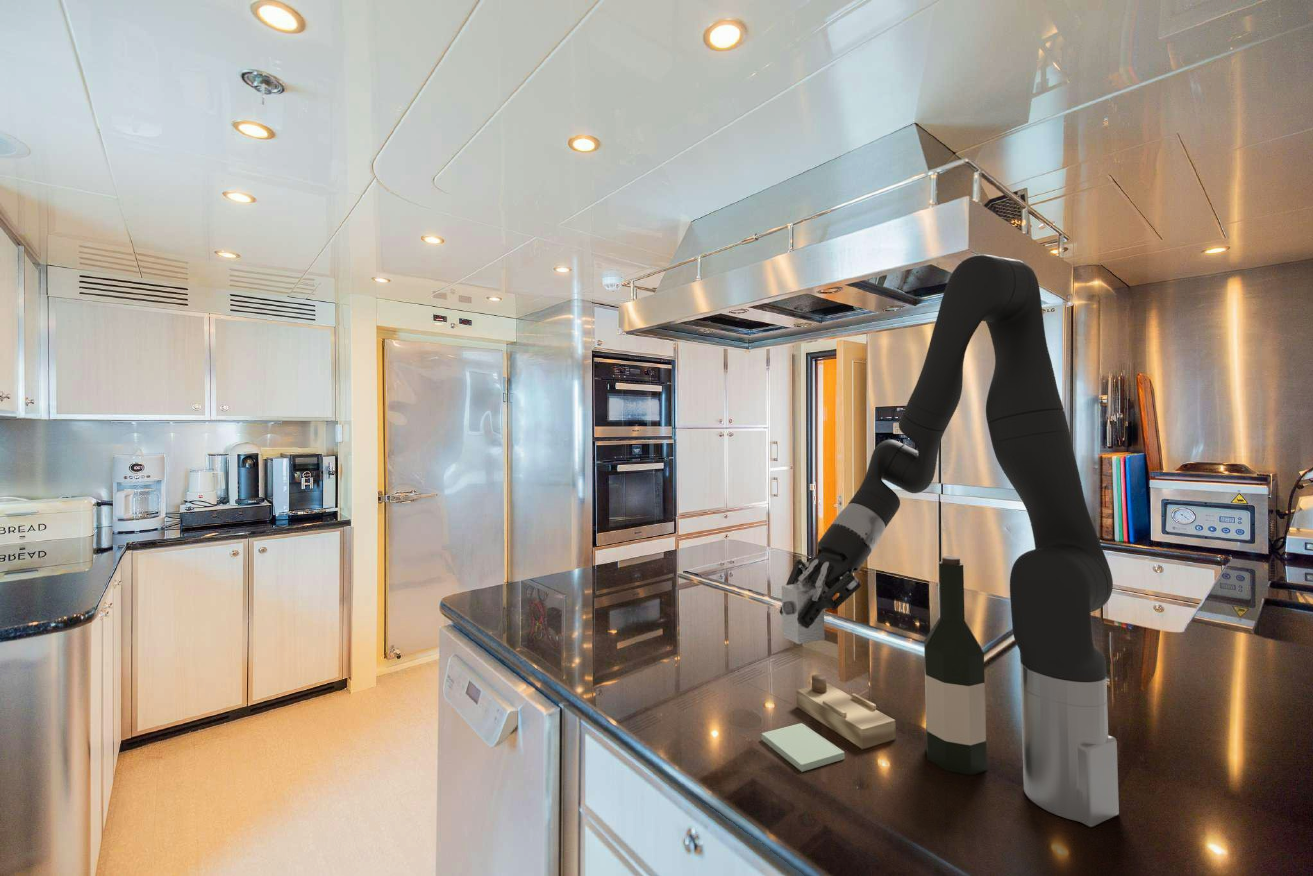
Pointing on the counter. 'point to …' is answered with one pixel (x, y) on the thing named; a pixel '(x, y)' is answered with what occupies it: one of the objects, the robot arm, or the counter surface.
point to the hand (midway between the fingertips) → (793, 620)
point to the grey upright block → (792, 607)
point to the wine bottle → (954, 682)
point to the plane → (846, 713)
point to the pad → (802, 747)
